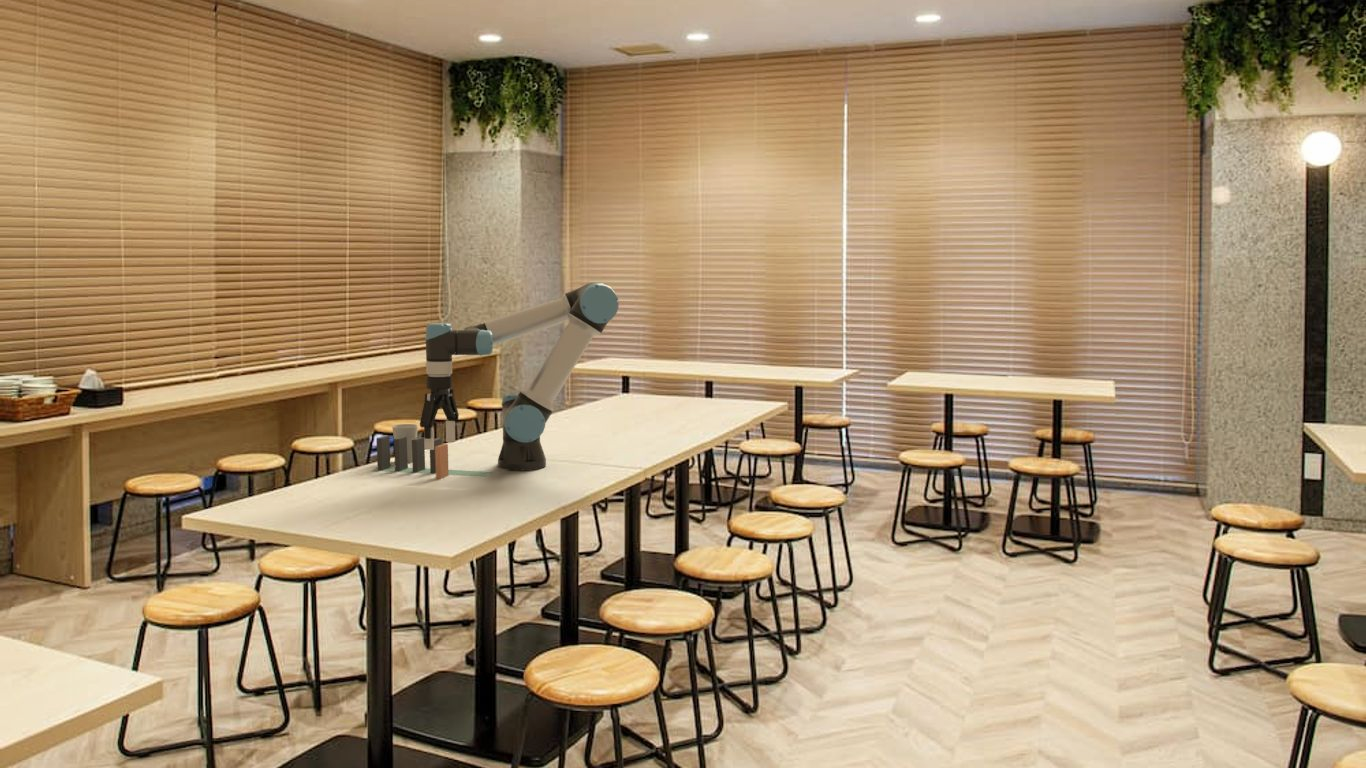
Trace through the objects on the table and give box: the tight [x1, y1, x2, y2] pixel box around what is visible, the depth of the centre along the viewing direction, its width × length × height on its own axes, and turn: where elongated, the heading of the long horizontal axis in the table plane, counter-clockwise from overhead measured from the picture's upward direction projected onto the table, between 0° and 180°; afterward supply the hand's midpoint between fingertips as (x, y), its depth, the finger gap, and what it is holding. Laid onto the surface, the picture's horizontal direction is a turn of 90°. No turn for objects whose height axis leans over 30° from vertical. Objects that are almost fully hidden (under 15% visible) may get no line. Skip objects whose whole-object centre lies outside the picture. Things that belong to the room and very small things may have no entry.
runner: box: [370, 466, 494, 478], centre depth 332 cm, size 38×7×1 cm, turn 76°
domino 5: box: [435, 443, 450, 480], centre depth 323 cm, size 2×5×10 cm, turn 165°
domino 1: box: [376, 435, 392, 470], centre depth 336 cm, size 2×5×10 cm, turn 165°
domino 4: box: [429, 437, 443, 473], centre depth 332 cm, size 2×5×10 cm, turn 165°
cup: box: [392, 423, 419, 464], centre depth 348 cm, size 8×8×12 cm
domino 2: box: [393, 437, 409, 471], centre depth 334 cm, size 2×5×10 cm, turn 165°
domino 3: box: [411, 436, 426, 472], centre depth 333 cm, size 2×5×10 cm, turn 166°
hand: (440, 445), depth 323 cm, fingers open, 13 cm apart
